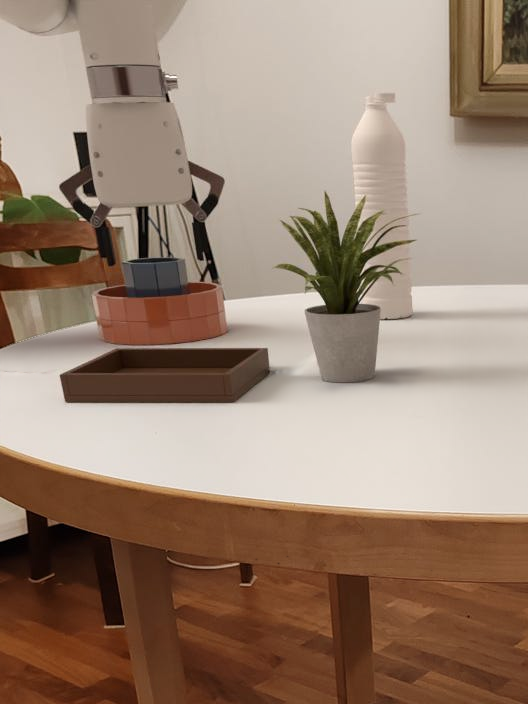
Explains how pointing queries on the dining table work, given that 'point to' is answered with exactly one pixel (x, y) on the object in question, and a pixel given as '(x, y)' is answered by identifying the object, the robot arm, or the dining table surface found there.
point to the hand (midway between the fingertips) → (156, 262)
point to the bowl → (160, 315)
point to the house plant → (342, 292)
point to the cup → (155, 277)
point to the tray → (166, 375)
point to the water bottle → (383, 203)
